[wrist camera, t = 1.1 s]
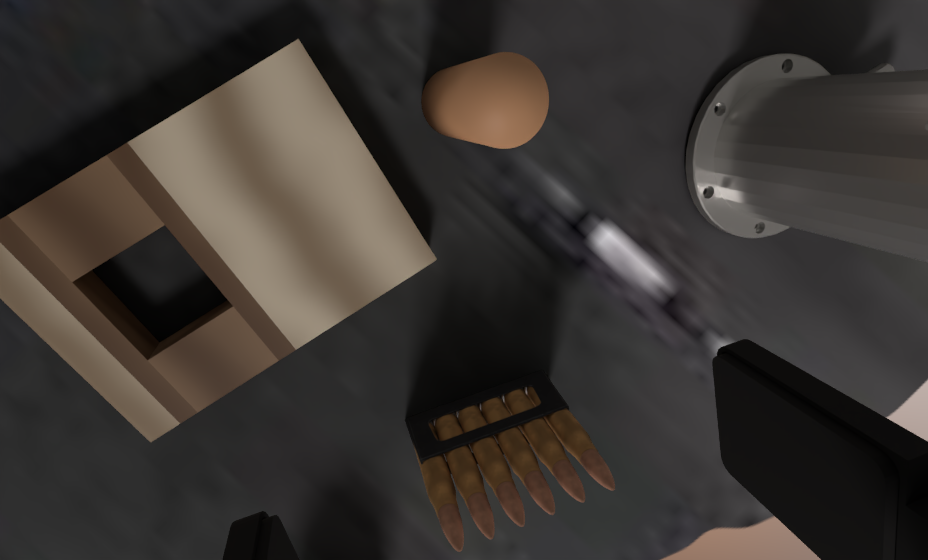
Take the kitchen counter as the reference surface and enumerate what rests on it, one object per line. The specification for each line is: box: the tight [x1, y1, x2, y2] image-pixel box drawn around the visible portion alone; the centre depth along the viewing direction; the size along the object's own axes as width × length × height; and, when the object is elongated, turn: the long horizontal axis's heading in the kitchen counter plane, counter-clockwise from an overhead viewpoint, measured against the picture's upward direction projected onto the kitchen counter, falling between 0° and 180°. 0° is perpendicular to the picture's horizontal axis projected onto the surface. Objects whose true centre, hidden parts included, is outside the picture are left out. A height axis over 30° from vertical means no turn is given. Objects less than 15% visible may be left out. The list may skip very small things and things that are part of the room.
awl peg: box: [421, 52, 549, 149], centre depth 28 cm, size 4×4×10 cm
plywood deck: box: [0, 39, 437, 442], centre depth 31 cm, size 20×14×2 cm
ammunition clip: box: [405, 370, 615, 552], centre depth 34 cm, size 11×2×12 cm, turn 104°
